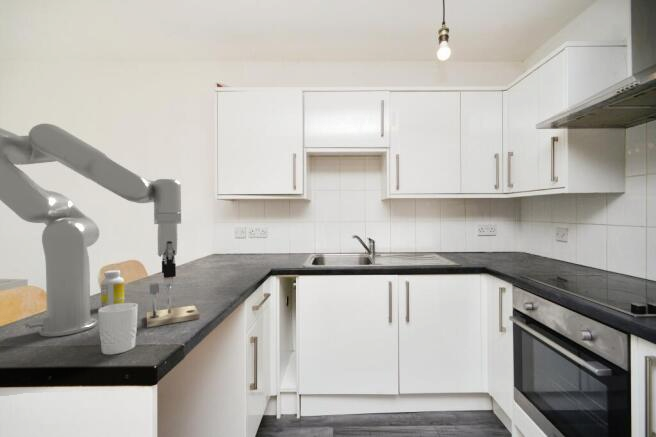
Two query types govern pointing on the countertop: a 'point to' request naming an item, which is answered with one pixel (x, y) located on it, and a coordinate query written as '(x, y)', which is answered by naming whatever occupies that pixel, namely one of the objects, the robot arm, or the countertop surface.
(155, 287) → the divider frame
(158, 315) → the hole plate
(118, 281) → the supplement bottle
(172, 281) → the slider block
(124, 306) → the white cup
